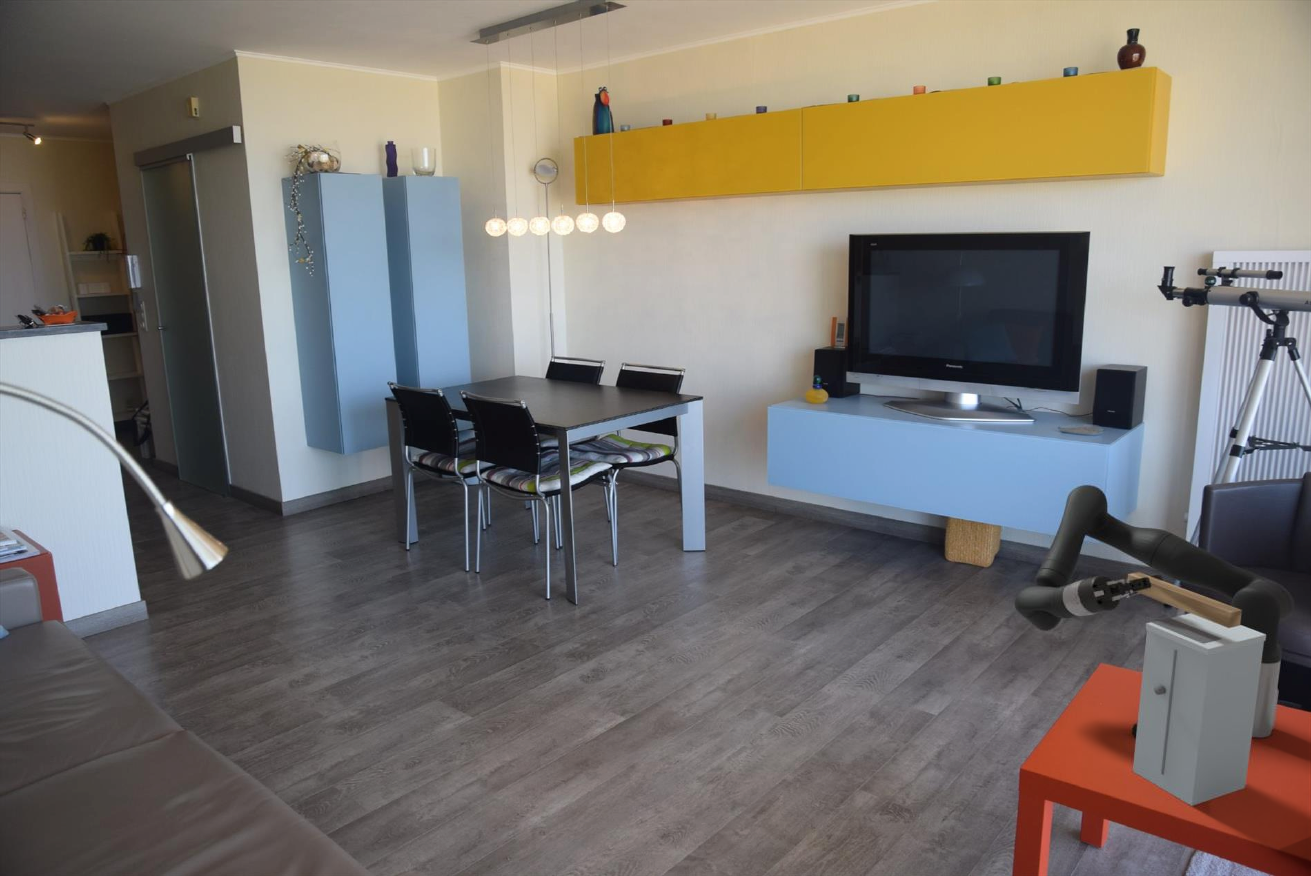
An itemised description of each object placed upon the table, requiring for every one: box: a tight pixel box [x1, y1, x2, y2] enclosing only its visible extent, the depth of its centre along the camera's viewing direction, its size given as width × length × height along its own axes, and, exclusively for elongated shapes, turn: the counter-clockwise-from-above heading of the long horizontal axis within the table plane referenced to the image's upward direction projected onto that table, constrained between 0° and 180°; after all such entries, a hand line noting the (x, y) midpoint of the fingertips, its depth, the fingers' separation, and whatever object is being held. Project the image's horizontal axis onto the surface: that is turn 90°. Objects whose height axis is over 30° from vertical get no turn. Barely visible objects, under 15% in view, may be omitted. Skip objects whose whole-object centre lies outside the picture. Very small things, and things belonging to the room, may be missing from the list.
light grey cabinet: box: [1132, 613, 1266, 807], centre depth 179 cm, size 17×13×32 cm
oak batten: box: [1127, 571, 1242, 628], centre depth 177 cm, size 3×22×3 cm, turn 22°
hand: (1154, 580), depth 182 cm, fingers closed on oak batten, 3 cm apart
